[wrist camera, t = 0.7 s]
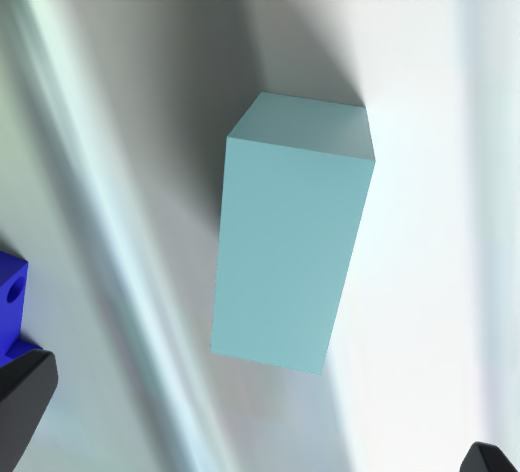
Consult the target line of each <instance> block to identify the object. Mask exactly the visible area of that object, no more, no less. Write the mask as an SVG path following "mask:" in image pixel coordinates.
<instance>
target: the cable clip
mask: <svg viewBox="0 0 520 472" xmlns="http://www.w3.org/2000/svg"><path fill="white" fill-rule="evenodd" d="M27 269H28V262H27V261H24V260H22V259H20V258H17V257H15V256H12V255H10V254H7V253H5V252H2V251H0V367H2V366H4V365H5V364H7V363H9V362H11V361H12V360H14V359H16V358H18V357H20V356H21V355H23V354H25V353H27V352H29V351H30V350H33V349H42V348H40V347H37V346H35V345H32V344H30V343H27V342H25V341H22V340H20V339H19V337H20V329H21V320H22V312H23V303H24V295H25V286H26V278H27ZM42 350H43V349H42Z"/></svg>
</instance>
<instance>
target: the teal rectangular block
mask: <svg viewBox="0 0 520 472" xmlns="http://www.w3.org/2000/svg"><path fill="white" fill-rule="evenodd" d="M374 165H375V156H374V150H373V144H372V139H371V133H370V128H369V122H368V116H367V111H366V107H360V106H353V105H347V104H340V103H334V102H327V101H321V100H314V99H307V98H301V97H294V96H288V95H281V94H274V93H268V92H261V93H260V94H259V95H258V97H257V98H256V99H255V101H254V102H253V103H252V105H251V106H250V107H249V108H248V110H247V111H246V112H245V114H244V115H243V116H242V118H241V119H240V120H239V122H238V123H237V124H236V126H235V127H234V128H233V130H232V131H231V132H230V134H229V135H228V136H227V141H226V154H225V168H224V181H223V194H222V207H221V220H220V233H219V246H218V259H217V272H216V285H215V299H214V312H213V325H212V338H211V351H210V353H215V354H220V355H225V356H230V357H235V358H240V359H245V360H250V361H255V362H259V363H264V364H269V365H274V366H279V367H284V368H289V369H294V370H299V371H304V372H309V373H313V374H318V375H321V372H322V368H323V364H324V361H325V357H326V353H327V349H328V345H329V341H330V337H331V333H332V329H333V325H334V321H335V318H336V314H337V310H338V306H339V302H340V298H341V294H342V290H343V286H344V282H345V278H346V275H347V271H348V267H349V263H350V259H351V255H352V251H353V247H354V243H355V239H356V235H357V231H358V228H359V224H360V220H361V216H362V212H363V208H364V204H365V200H366V196H367V192H368V188H369V185H370V181H371V177H372V173H373V169H374Z"/></svg>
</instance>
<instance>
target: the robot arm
mask: <svg viewBox="0 0 520 472" xmlns="http://www.w3.org/2000/svg"><path fill="white" fill-rule="evenodd" d="M57 384H58V372H57V366H56V360H55V355H54V354H53V353H52V352H51V351H46V350H42V349H33V350H30V351H29V352H27V353H25V354H23V355H21V356H20V357H18V358H16V359H14V360H12V361H11V362H9V363H7V364H5V365H4V366H2V367H0V472H12V471H13V470H14V468H15V467H16V465H17V463H18V462H19V460H20V458H21V457H22V455H23V453H24V451H25V449H26V447H27V446H28V444H29V442H30V440H31V438H32V436H33V434H34V432H35V430H36V428H37V426H38V424H39V422H40V420H41V418H42V416H43V414H44V412H45V410H46V408H47V406H48V403H49V401H50V399H51V397H52V395H53V393H54V391H55V389H56V387H57ZM460 472H518V471H517V470H516V468H515V467H514V466H513V465H512V463H511V462H510V461H509V460H508V458H507V457H506V456H505V455H504V453H503V452H502V451H501V450H500V449H499V448H498V447H497V446H495V445H492V444H488V443H483V442H475V443H473V444H472V446H471V448H470V449H469V451H468V453H467V455H466V457H465V458H464V460H463V462H462V464H461V467H460Z"/></svg>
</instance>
